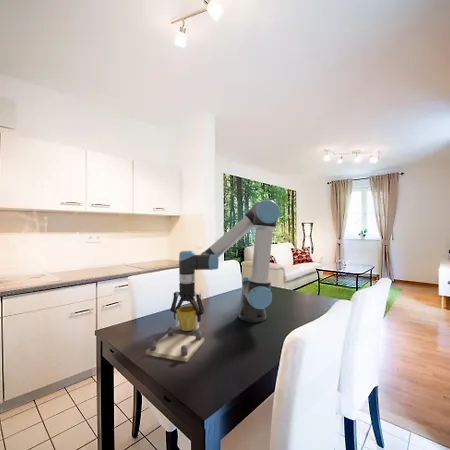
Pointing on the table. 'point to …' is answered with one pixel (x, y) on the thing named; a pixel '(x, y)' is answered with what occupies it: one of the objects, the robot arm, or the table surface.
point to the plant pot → (186, 317)
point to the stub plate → (175, 346)
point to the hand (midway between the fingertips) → (187, 326)
